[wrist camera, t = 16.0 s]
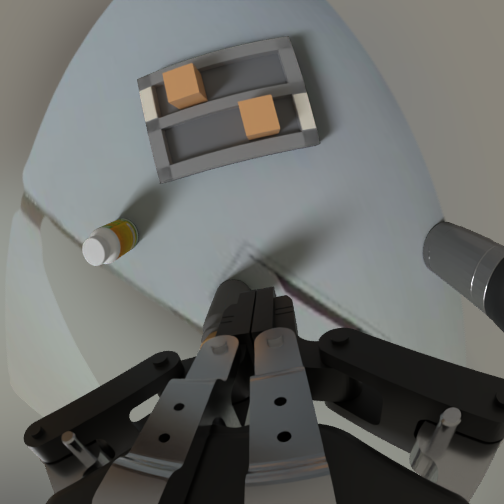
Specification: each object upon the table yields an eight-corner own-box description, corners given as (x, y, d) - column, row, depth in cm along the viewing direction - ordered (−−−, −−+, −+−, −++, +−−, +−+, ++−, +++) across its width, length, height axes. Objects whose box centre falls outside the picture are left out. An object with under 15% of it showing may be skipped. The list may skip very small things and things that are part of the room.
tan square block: (201, 74, 32) (192, 62, 28) (207, 101, 34) (199, 92, 29) (174, 83, 33) (162, 73, 28) (180, 109, 34) (168, 102, 29)
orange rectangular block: (270, 103, 33) (271, 94, 29) (278, 133, 35) (280, 128, 30) (241, 110, 34) (237, 101, 29) (249, 140, 35) (246, 136, 30)
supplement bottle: (130, 212, 41) (98, 226, 32) (144, 243, 42) (115, 263, 33) (106, 225, 42) (72, 241, 33) (119, 254, 43) (89, 275, 34)
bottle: (221, 274, 43) (200, 326, 29) (257, 285, 43) (252, 341, 29) (212, 305, 45) (190, 364, 31) (246, 316, 45) (237, 377, 31)
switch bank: (287, 45, 32) (288, 35, 29) (315, 145, 37) (320, 143, 33) (146, 84, 35) (136, 78, 31) (168, 181, 39) (159, 183, 36)
